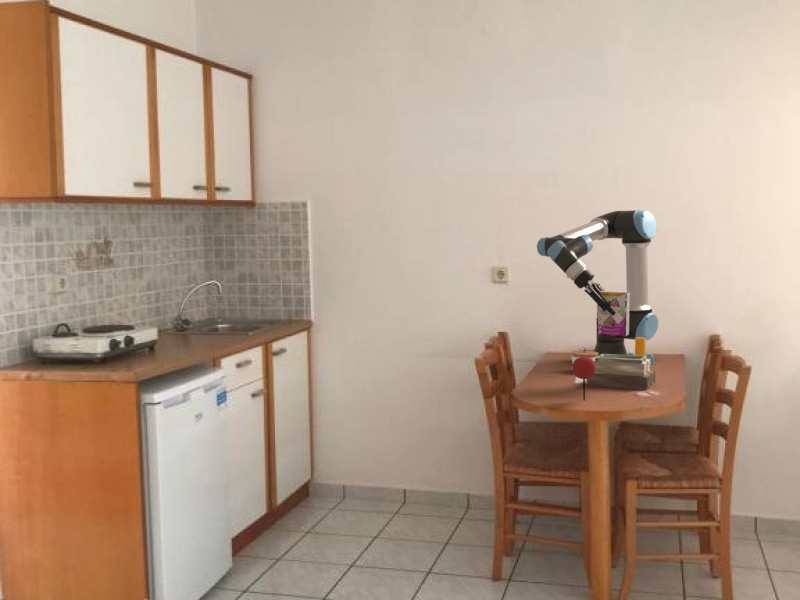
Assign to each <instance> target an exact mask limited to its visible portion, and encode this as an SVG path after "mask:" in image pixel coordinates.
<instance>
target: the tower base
mask: <svg viewBox="0 0 800 600" xmlns="http://www.w3.org/2000/svg"><path fill="white" fill-rule="evenodd" d="M651 359H652V358H648V357H647V356H638V355H618V354H601V355H599V356H598V357H596V358H595V360H593V361H594V363H595V373H594V375H593V376H592V377H591V378H588V379H586V386H587V387H589V386H590V387H603V388H618V389H620V388H621V389H632V390H633V389H634V390H646V391H647V390H648V389H649V388H650V387H652V386H653V385H654V384H655V383H656V370H655V369H652V368H651V367H652V365H651Z"/></svg>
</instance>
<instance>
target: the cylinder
mask: <svg viewBox="0 0 800 600" xmlns="http://www.w3.org/2000/svg"><path fill="white" fill-rule="evenodd" d="M634 341H635V342H634V352H629V353H627V355H638V356H647V358H649V357H650V359H651V366H653V365H654V364H655V358H654V355H653V353H651V352H648V353H646V349H647V348H646V346H647V344H646V343H647V342H646V341H647V340H646V338H645V337H635V340H634Z"/></svg>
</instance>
